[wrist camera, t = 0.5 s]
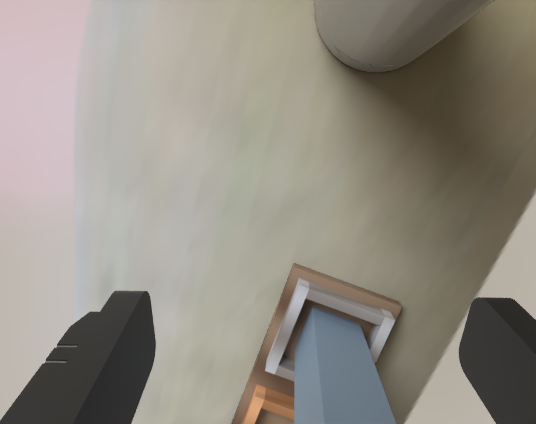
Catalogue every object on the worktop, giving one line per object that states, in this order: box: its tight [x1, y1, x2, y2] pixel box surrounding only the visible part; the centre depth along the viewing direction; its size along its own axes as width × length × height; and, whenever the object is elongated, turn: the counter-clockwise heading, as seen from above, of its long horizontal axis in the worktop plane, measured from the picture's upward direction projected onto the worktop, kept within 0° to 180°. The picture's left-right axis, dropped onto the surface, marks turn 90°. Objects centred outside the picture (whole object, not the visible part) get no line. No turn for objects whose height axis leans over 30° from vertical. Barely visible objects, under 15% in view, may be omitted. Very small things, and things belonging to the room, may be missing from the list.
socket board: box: [231, 263, 402, 424], centre depth 30 cm, size 19×9×2 cm, turn 160°
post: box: [294, 306, 396, 424], centre depth 22 cm, size 4×4×14 cm
